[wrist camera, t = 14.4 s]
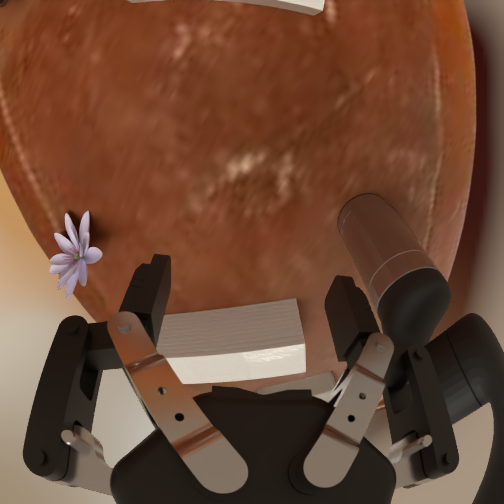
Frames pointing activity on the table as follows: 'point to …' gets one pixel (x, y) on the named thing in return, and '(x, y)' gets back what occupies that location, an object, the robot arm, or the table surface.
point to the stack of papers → (234, 343)
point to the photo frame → (3, 2)
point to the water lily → (74, 255)
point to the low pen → (278, 4)
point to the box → (306, 385)
